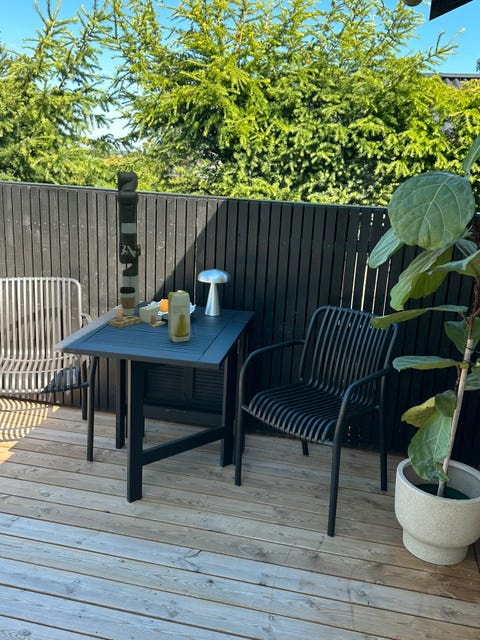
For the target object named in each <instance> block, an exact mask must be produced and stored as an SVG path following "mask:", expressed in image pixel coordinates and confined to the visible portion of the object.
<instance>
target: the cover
mask: <svg viewBox="0 0 480 640" xmlns="http://www.w3.org/2000/svg"><path fill="white" fill-rule="evenodd" d="M160 307H161V308H162V306H161V305H158V304H157V305H156V304H150V305H147V306H142V307H139V318H141V322H143V323H147V324H150V323H151V315H155V316H156V322H158V321H161V320H162V318H163V317H161V316H160V315H158V312H159V311H160Z"/></svg>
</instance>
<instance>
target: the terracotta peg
mask: <svg viewBox="0 0 480 640" xmlns="http://www.w3.org/2000/svg"><path fill="white" fill-rule="evenodd" d="M115 312H116V313H115V314H116V319H117V322H122V321H123V317H124V315H123V310H122V308H121V309H120V308H119V309H116V311H115Z"/></svg>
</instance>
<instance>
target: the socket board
mask: <svg viewBox="0 0 480 640" xmlns="http://www.w3.org/2000/svg"><path fill="white" fill-rule="evenodd" d="M141 322H142V321H141V318H140V316H139V317H138V316H135V315H125V316H123V321H122V322H117V318H114V319H110V320H109V324H108V325H109V326H110V327H114V328H118V329H121V328H125V327H130V326H135V325H137V324H141Z"/></svg>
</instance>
